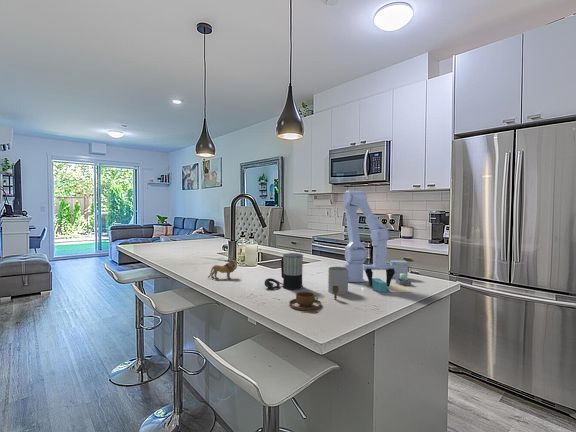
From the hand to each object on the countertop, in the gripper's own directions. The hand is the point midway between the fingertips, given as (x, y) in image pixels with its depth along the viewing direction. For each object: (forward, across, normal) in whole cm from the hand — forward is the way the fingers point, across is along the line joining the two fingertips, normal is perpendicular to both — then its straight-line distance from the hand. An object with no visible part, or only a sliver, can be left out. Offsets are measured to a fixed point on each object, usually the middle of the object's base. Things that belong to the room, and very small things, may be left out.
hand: (379, 286), depth 143 cm
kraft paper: (+1, +8, +1) cm, 8 cm away
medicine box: (+2, +16, +21) cm, 26 cm away
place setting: (+2, -30, -22) cm, 38 cm away
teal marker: (+2, 0, 0) cm, 2 cm away
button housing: (+1, +14, +9) cm, 17 cm away
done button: (0, +14, +9) cm, 17 cm away
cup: (+2, -19, -4) cm, 19 cm away
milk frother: (+2, -42, +3) cm, 42 cm away
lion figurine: (+2, -73, +21) cm, 76 cm away
